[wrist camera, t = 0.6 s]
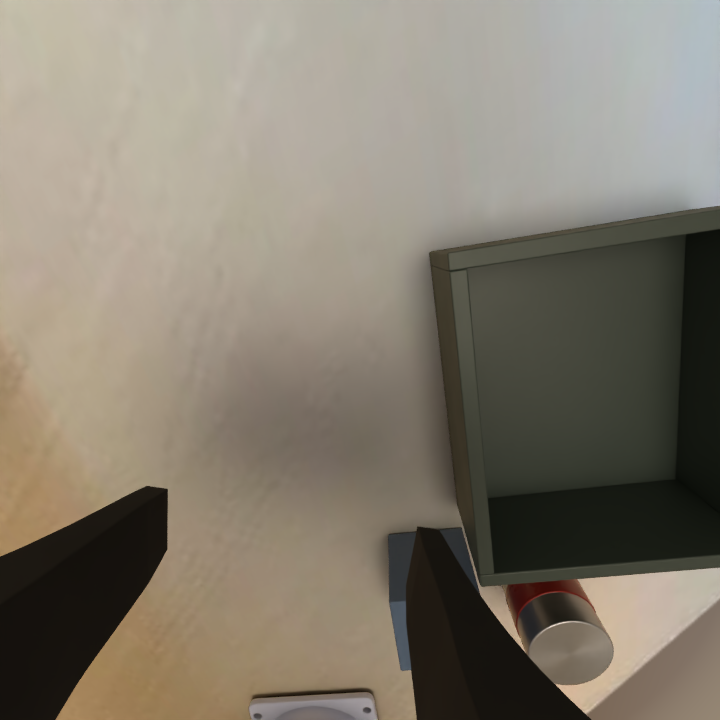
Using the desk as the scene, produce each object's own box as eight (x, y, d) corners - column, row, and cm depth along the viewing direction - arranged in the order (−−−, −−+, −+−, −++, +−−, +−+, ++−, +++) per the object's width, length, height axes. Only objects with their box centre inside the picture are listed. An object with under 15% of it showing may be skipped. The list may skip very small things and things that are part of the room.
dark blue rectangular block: (468, 587, 23) (487, 665, 19) (397, 593, 23) (400, 671, 19) (461, 527, 22) (480, 595, 18) (388, 534, 22) (389, 602, 18)
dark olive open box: (680, 482, 21) (783, 563, 15) (457, 505, 22) (480, 587, 16) (693, 209, 17) (829, 191, 12) (429, 251, 18) (447, 252, 13)
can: (566, 592, 23) (615, 684, 18) (498, 597, 23) (529, 689, 18) (564, 535, 22) (615, 617, 17) (494, 542, 22) (524, 623, 17)
